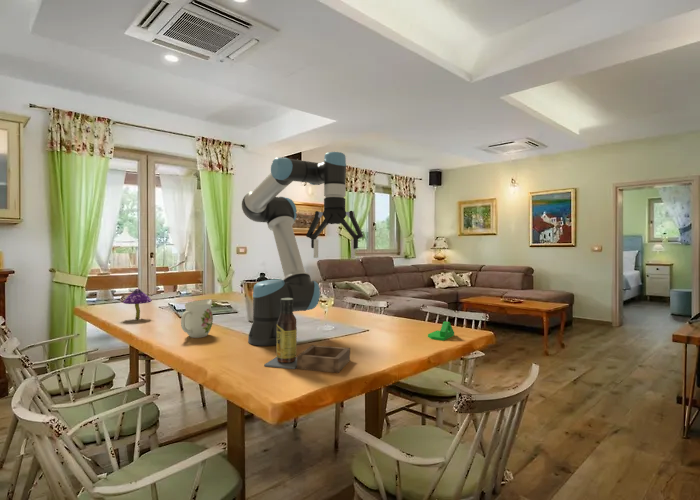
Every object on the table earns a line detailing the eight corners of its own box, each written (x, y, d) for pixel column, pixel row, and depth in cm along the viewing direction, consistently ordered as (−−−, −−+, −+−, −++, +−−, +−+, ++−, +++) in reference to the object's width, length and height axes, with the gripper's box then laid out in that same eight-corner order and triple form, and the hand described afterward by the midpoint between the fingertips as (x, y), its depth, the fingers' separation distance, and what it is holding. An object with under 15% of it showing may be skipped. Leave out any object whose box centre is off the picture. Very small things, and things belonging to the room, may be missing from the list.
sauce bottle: (277, 358, 130) (277, 296, 129) (296, 358, 130) (297, 296, 130) (275, 364, 123) (275, 299, 123) (295, 364, 124) (296, 299, 124)
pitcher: (169, 340, 154) (169, 304, 154) (199, 330, 172) (199, 298, 172) (194, 342, 152) (194, 306, 151) (221, 332, 169) (221, 299, 169)
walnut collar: (297, 368, 121) (297, 355, 121) (312, 357, 134) (312, 345, 134) (338, 372, 118) (338, 359, 118) (349, 360, 130) (349, 348, 130)
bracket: (436, 333, 172) (437, 317, 172) (454, 336, 168) (454, 319, 168) (424, 338, 163) (424, 322, 162) (442, 341, 158) (443, 324, 158)
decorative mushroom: (118, 319, 195) (118, 288, 194) (145, 316, 204) (145, 286, 204) (129, 323, 187) (129, 290, 186) (156, 319, 196) (156, 288, 196)
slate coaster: (264, 366, 123) (264, 364, 123) (278, 357, 133) (278, 355, 133) (294, 369, 121) (294, 367, 121) (306, 359, 130) (306, 358, 130)
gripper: (371, 197, 141) (371, 258, 142) (305, 199, 148) (304, 257, 148) (367, 195, 134) (366, 259, 134) (297, 196, 140) (297, 257, 141)
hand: (334, 258), depth 141 cm, fingers open, 13 cm apart
